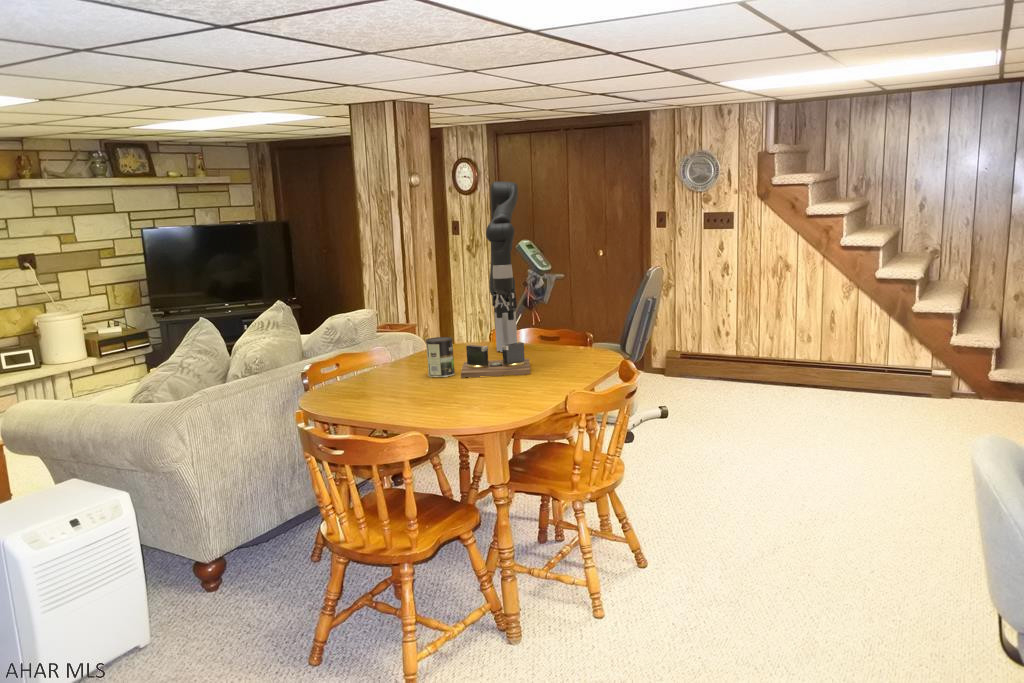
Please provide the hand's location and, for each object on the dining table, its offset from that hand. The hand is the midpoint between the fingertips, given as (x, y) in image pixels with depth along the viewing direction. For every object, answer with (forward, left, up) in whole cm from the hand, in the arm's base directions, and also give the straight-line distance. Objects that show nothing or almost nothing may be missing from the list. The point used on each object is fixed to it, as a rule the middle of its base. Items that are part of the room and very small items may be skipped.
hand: (505, 318), depth 310 cm
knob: (-1, +2, -18) cm, 18 cm away
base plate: (-1, -5, -20) cm, 21 cm away
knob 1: (-1, -12, -18) cm, 21 cm away
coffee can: (+2, -26, -20) cm, 33 cm away
